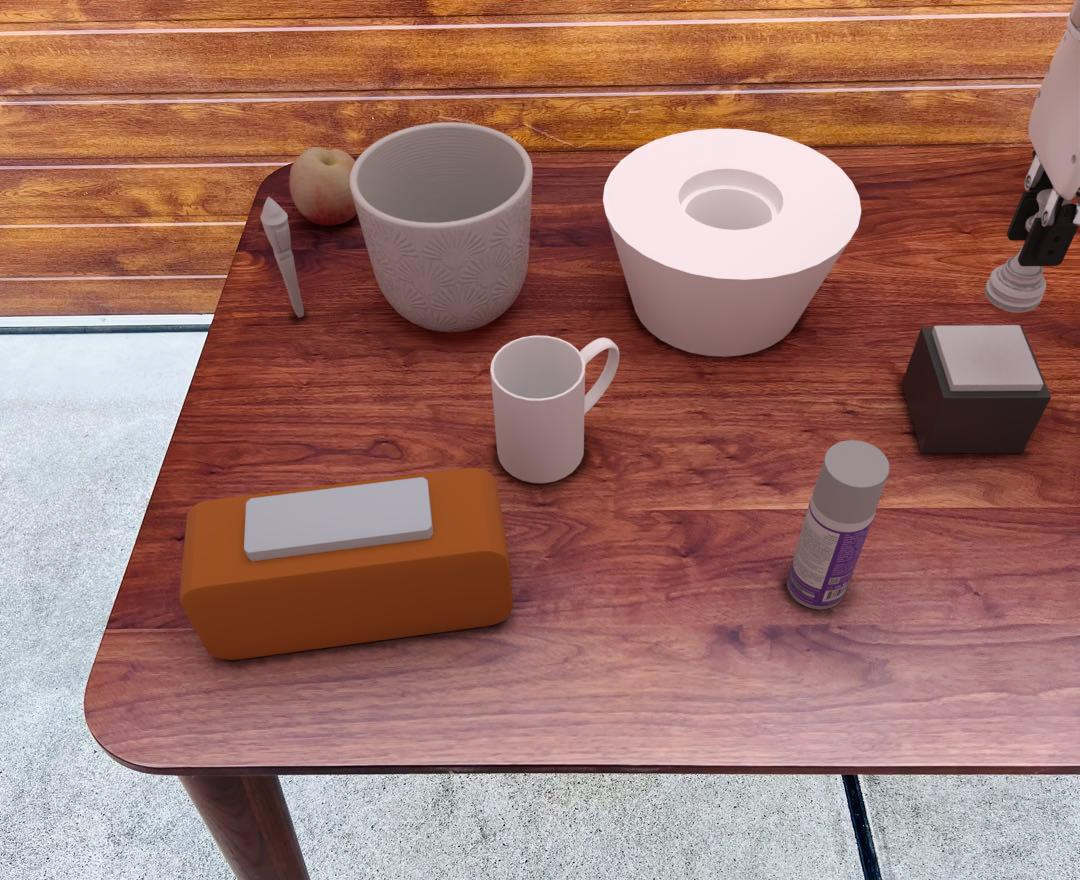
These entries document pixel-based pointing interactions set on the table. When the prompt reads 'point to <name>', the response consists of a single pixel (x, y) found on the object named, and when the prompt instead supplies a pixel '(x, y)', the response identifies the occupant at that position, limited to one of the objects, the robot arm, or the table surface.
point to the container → (837, 523)
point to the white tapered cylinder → (727, 235)
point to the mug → (544, 404)
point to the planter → (446, 222)
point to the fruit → (323, 186)
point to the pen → (282, 249)
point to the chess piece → (1019, 276)
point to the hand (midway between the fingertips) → (1033, 249)
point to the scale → (974, 389)
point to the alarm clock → (346, 563)
